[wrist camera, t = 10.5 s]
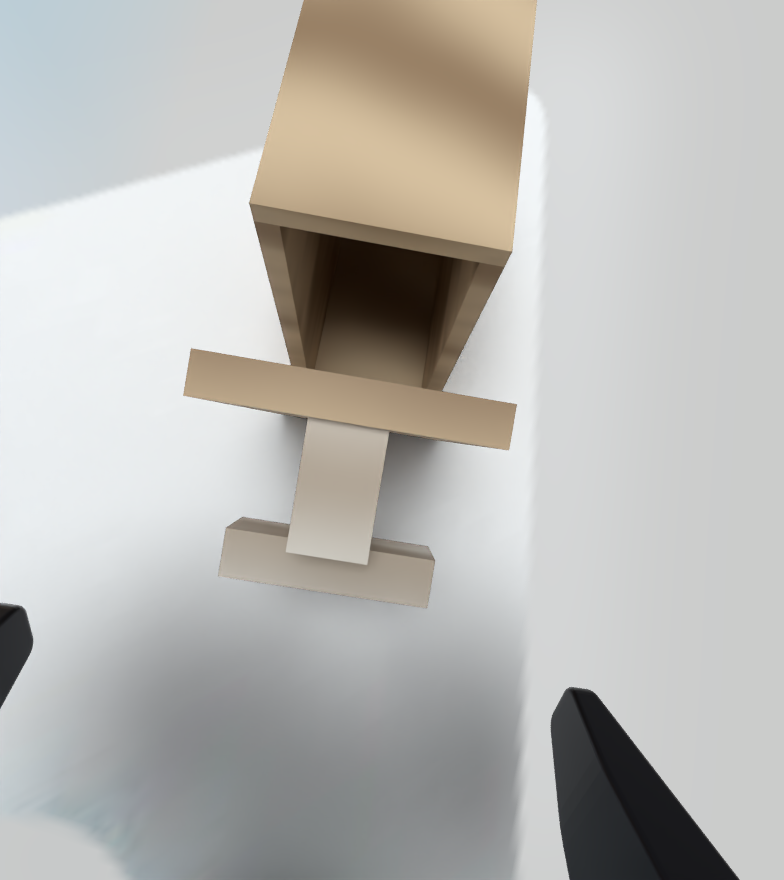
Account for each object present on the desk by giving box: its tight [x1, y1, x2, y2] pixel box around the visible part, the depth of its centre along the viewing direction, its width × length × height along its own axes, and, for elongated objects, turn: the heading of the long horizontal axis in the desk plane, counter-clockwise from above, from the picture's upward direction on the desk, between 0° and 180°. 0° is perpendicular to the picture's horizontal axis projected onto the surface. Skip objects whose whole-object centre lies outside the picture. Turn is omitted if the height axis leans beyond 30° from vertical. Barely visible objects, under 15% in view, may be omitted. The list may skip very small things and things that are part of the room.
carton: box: [249, 0, 537, 391], centre depth 19 cm, size 9×6×12 cm, turn 171°
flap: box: [183, 348, 517, 608], centre depth 17 cm, size 5×7×11 cm
